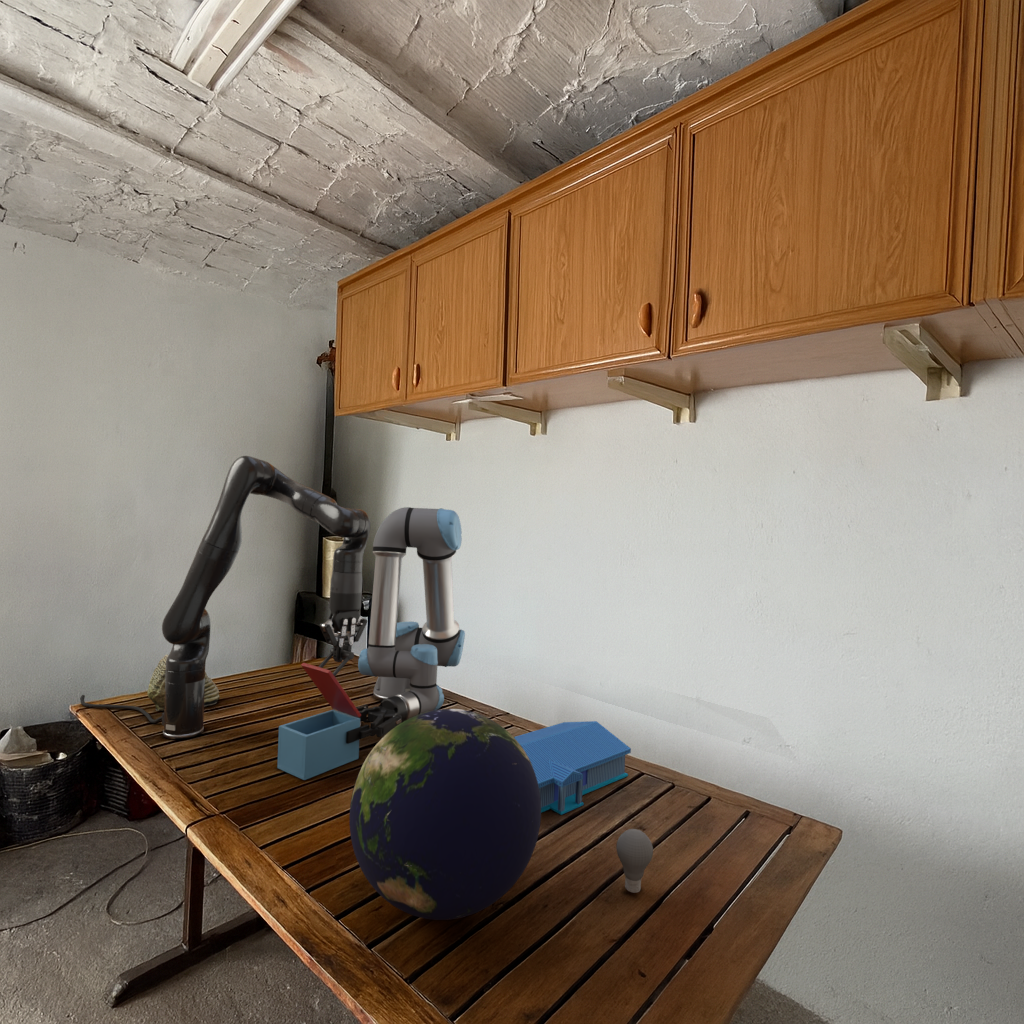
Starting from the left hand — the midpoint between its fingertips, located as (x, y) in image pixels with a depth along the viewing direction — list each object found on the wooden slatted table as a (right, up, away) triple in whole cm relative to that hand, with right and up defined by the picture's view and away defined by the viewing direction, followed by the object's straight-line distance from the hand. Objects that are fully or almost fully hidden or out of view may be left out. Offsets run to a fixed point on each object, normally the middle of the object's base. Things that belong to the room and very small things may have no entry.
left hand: (341, 660), depth 155 cm
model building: (+49, -26, -11) cm, 56 cm away
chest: (-4, -23, -4) cm, 24 cm away
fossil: (-55, -21, +30) cm, 66 cm away
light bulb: (+62, -27, -49) cm, 83 cm away
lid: (-2, -7, -2) cm, 8 cm away
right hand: (-2, -17, -1) cm, 17 cm away
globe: (+30, -26, -54) cm, 67 cm away
